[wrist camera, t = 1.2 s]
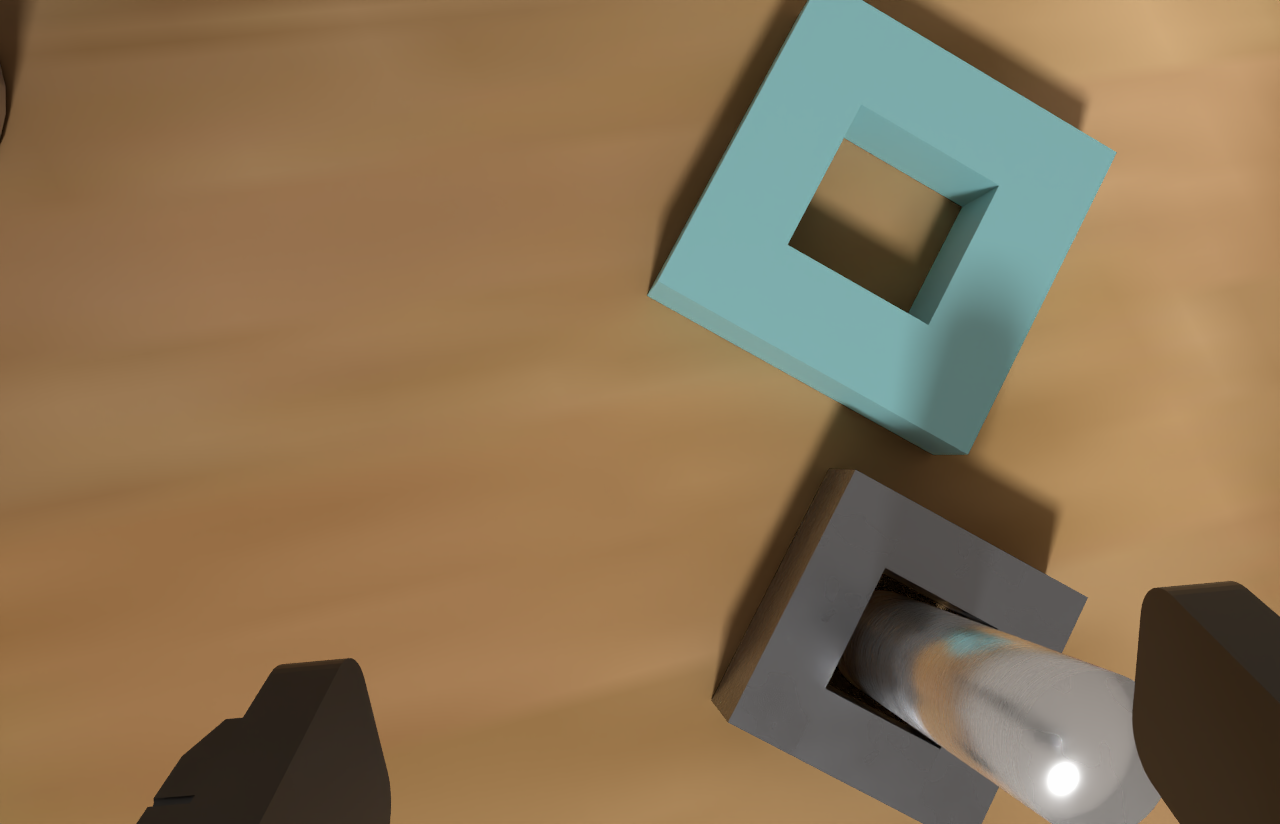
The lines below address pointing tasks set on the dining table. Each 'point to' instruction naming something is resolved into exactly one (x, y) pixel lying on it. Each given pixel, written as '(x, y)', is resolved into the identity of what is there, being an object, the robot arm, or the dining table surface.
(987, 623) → the socket block
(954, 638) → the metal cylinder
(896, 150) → the block
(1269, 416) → the dining table surface
